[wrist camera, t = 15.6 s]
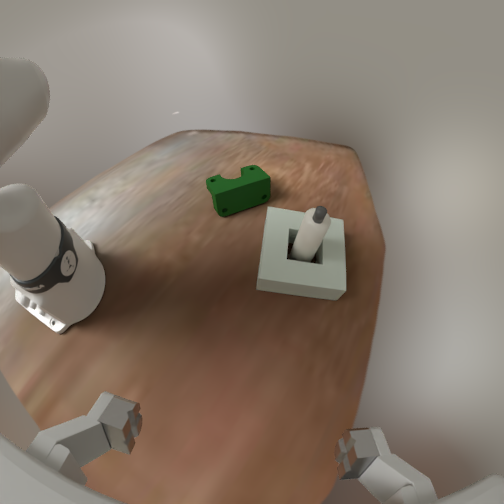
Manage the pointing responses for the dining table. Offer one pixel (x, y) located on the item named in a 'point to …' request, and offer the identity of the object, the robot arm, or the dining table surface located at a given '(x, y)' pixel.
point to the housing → (297, 272)
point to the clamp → (239, 190)
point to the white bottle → (310, 234)
